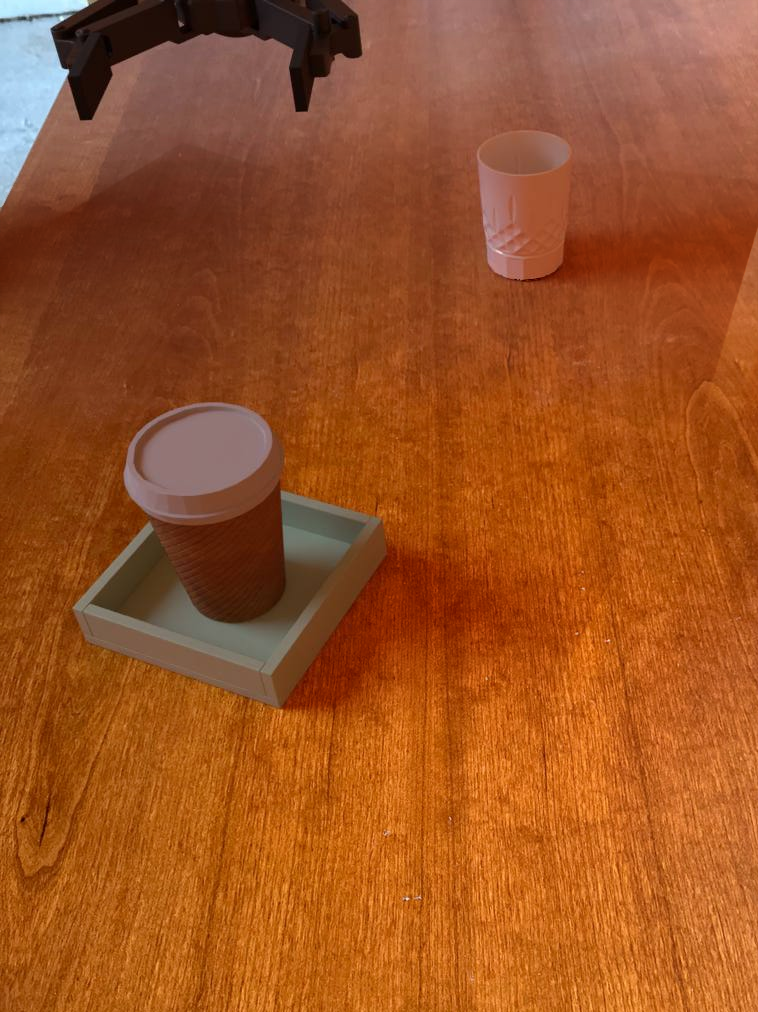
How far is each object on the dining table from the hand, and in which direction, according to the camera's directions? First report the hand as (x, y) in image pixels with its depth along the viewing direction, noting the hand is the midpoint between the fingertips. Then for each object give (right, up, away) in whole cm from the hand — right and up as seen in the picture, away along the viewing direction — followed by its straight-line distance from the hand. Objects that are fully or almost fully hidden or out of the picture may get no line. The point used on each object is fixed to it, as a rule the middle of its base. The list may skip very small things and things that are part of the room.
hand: (188, 94), depth 73 cm
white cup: (+22, 0, +32) cm, 39 cm away
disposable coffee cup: (+2, -30, +6) cm, 31 cm away
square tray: (+2, -31, +6) cm, 31 cm away
